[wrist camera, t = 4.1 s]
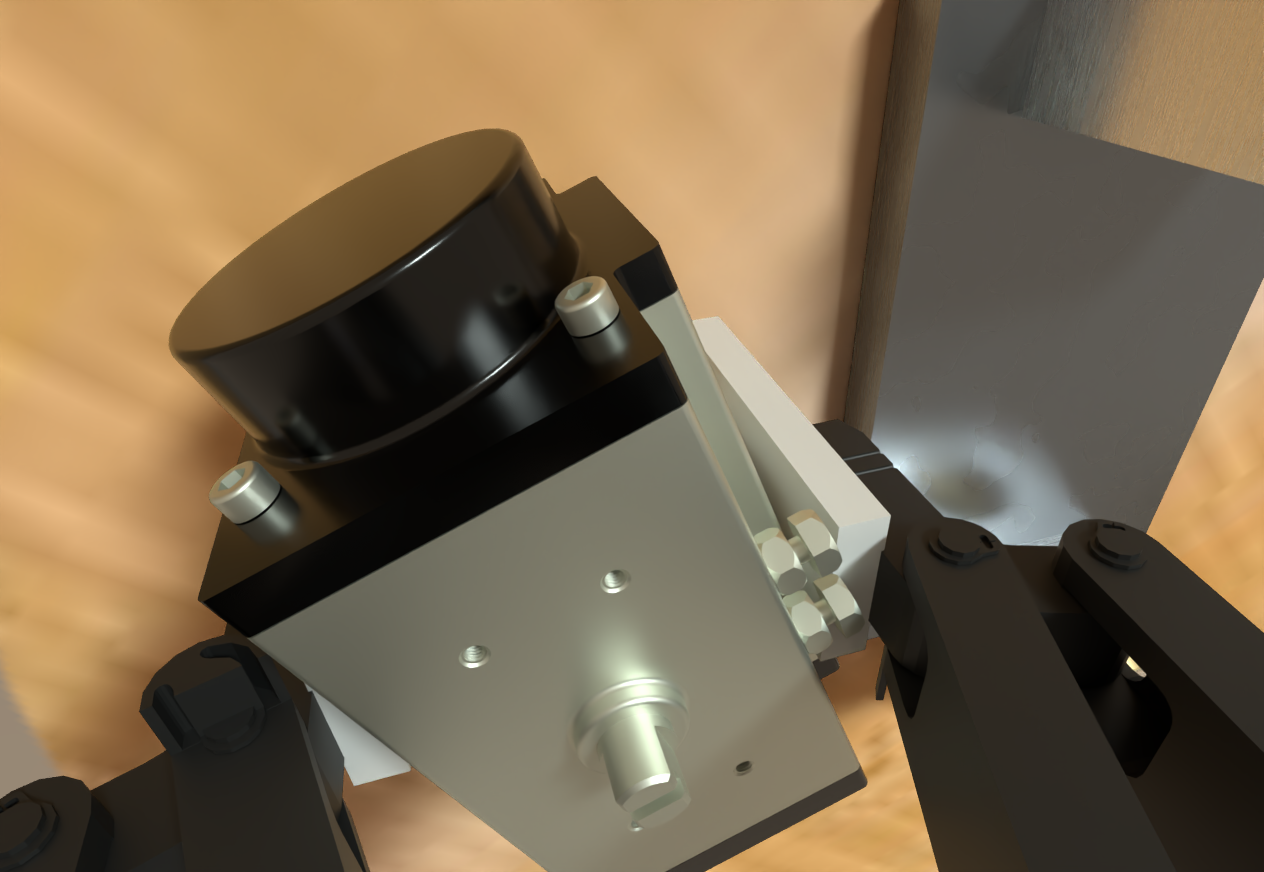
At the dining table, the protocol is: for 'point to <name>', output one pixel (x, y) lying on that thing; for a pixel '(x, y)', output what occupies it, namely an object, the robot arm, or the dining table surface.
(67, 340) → the dining table surface
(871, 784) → the dining table surface
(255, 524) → the pneumatic valve
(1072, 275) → the fittings plate
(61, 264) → the dining table surface
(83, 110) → the dining table surface
